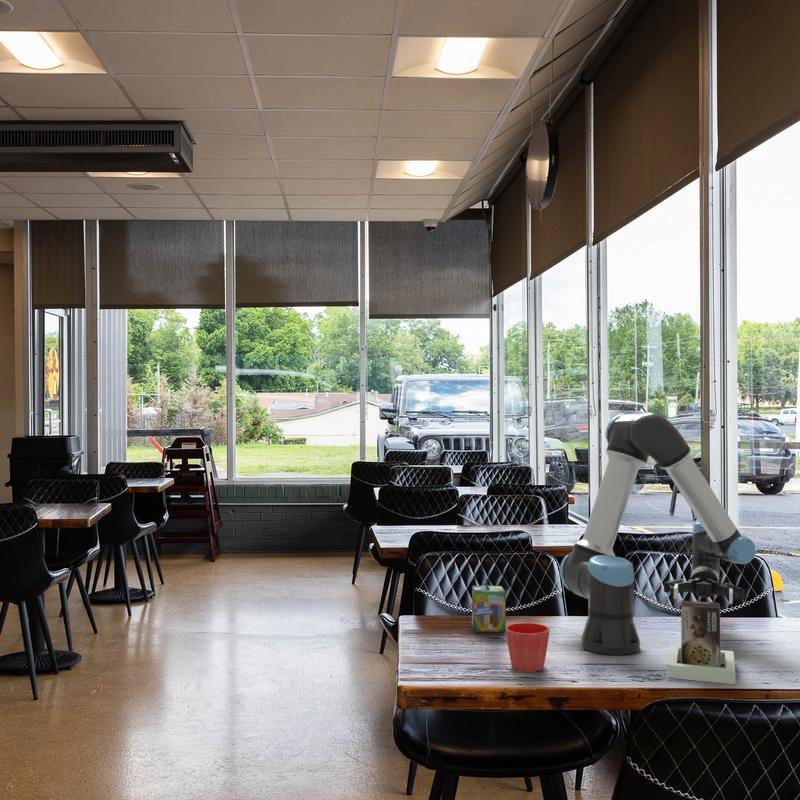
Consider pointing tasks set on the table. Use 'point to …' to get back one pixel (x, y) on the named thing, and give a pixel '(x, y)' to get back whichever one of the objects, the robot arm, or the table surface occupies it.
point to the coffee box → (700, 633)
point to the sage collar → (701, 668)
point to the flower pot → (527, 645)
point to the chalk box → (488, 608)
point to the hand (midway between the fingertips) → (702, 596)
